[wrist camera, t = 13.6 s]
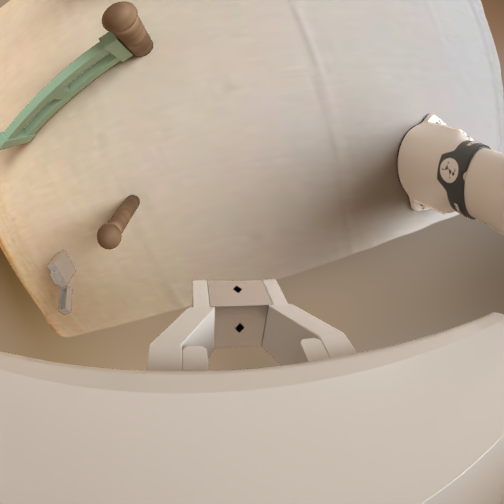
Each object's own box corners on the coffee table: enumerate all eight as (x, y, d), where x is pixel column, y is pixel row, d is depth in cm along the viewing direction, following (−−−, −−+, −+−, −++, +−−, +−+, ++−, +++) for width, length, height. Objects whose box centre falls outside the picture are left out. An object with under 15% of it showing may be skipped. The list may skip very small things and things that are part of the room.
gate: (133, 55, 26) (117, 39, 19) (29, 142, 27) (-2, 150, 20) (128, 47, 25) (111, 29, 18) (25, 134, 26) (-7, 141, 19)
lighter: (57, 252, 36) (36, 278, 29) (64, 249, 36) (44, 275, 29) (77, 287, 39) (62, 317, 32) (85, 285, 39) (70, 315, 32)
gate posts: (156, 35, 26) (137, -6, 13) (144, 210, 36) (121, 256, 24) (131, 37, 25) (101, -1, 13) (122, 210, 36) (90, 256, 24)
